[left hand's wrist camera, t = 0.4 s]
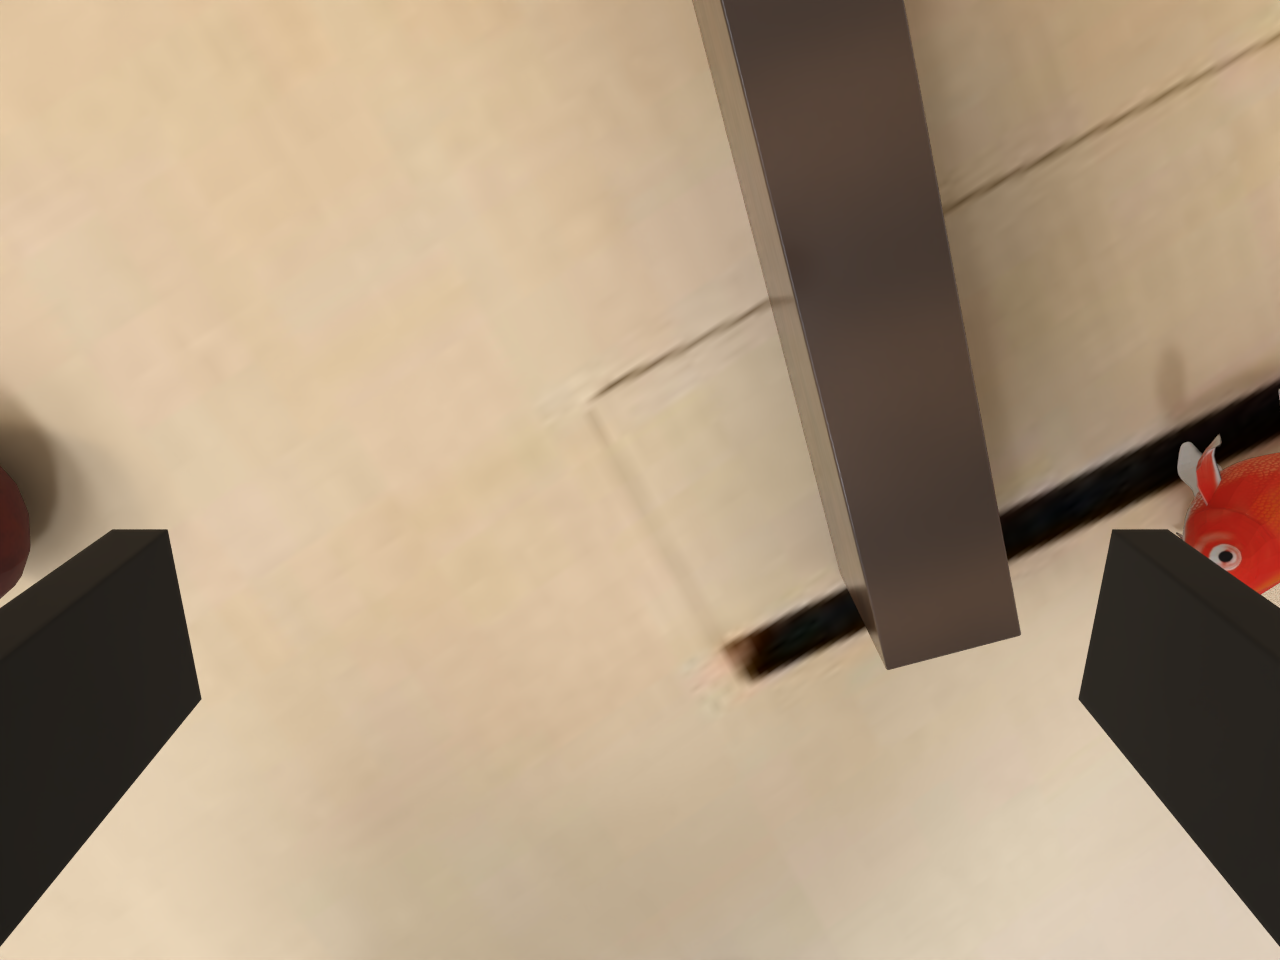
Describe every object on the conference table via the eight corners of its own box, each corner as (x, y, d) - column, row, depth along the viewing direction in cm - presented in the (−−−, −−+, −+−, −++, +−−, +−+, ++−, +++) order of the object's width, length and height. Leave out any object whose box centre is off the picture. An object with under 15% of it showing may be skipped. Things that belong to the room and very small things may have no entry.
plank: (949, 545, 40) (1021, 636, 32) (840, 575, 40) (887, 671, 33) (787, -230, 30) (837, -362, 22) (646, -178, 30) (648, -289, 23)
